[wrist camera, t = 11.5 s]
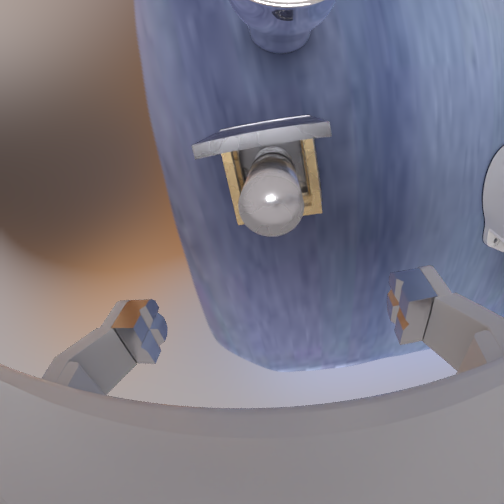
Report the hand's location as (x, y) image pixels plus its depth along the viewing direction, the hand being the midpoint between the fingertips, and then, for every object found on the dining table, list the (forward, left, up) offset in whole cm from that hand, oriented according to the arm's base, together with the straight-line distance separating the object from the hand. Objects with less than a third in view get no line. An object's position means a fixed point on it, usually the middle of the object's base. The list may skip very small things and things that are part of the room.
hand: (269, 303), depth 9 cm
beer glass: (+5, -14, -22) cm, 27 cm away
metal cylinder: (0, 0, -21) cm, 21 cm away
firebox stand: (0, 0, -22) cm, 22 cm away
